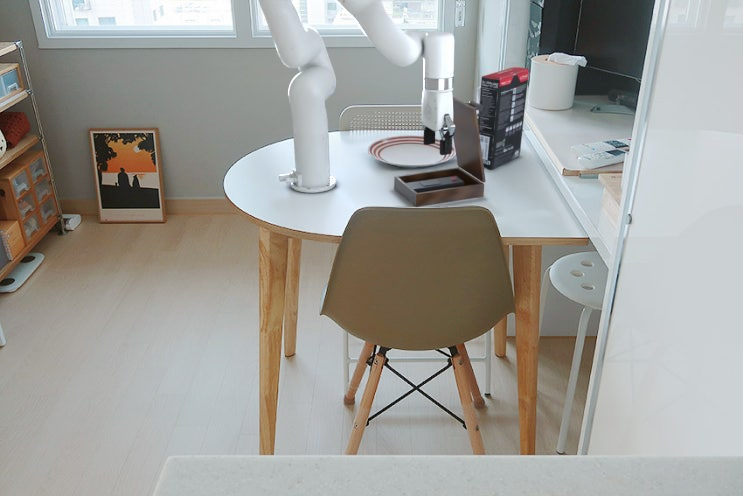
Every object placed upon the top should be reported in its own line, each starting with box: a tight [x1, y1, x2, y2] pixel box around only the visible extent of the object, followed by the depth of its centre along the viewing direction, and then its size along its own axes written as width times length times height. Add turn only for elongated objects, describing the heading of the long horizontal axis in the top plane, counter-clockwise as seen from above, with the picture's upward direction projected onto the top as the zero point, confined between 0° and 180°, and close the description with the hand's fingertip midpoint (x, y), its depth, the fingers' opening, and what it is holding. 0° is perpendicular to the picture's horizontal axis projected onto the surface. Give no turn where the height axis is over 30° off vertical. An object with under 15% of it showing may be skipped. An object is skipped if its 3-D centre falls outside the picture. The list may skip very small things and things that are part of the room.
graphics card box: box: [478, 66, 530, 170], centre depth 209 cm, size 17×7×27 cm, turn 141°
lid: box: [453, 96, 486, 184], centre depth 187 cm, size 20×15×5 cm
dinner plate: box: [367, 134, 456, 169], centre depth 217 cm, size 27×27×3 cm
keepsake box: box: [393, 166, 485, 208], centre depth 189 cm, size 20×15×4 cm
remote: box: [406, 176, 464, 193], centre depth 189 cm, size 15×5×3 cm, turn 111°
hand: (437, 149), depth 184 cm, fingers open, 9 cm apart
